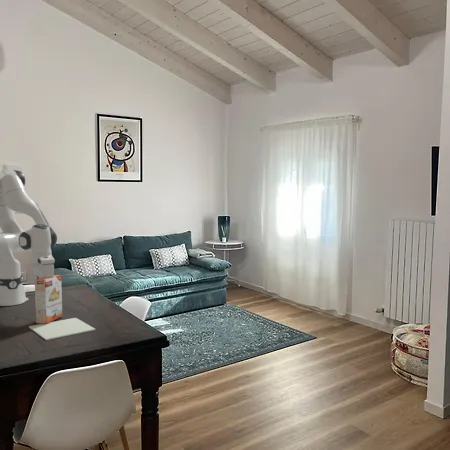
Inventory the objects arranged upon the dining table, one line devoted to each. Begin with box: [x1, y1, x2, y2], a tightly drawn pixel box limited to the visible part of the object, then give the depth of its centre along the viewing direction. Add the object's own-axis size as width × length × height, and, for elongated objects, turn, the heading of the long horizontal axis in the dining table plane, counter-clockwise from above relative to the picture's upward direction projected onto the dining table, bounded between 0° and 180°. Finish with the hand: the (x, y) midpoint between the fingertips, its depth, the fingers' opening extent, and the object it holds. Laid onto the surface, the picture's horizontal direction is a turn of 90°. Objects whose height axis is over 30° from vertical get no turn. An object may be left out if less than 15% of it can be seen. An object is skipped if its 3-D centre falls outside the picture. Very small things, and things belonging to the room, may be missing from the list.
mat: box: [28, 317, 96, 341], centre depth 212 cm, size 22×22×1 cm
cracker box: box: [34, 274, 63, 325], centre depth 223 cm, size 14×6×21 cm, turn 169°
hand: (42, 286), depth 229 cm, fingers closed
